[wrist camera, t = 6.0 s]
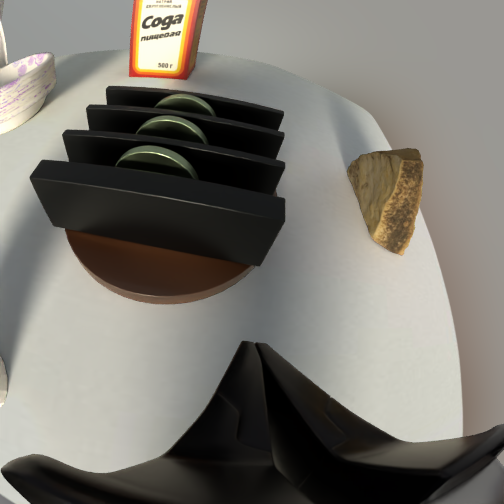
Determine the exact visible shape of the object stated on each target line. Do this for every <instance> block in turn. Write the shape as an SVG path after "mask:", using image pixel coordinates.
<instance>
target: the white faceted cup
mask: <svg viewBox="0 0 504 504" xmlns="http://www.w3.org/2000/svg"><path fill="white" fill-rule="evenodd" d="M6 394H7V374H6V369H5V365H4V362H3V360H2V358H1V356H0V407H1V406H2V405H3V404H4V402H5V398H6Z"/></svg>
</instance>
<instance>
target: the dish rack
mask: <svg viewBox="0 0 504 504" xmlns="http://www.w3.org/2000/svg"><path fill="white" fill-rule="evenodd" d="M106 99H107V105H89V106H88V107H87V108H86V112H87V119H88V125H89V130H65V131H64V133H63V134H62V136H63V140H64V144H65V148H66V152H67V155H68V159H69V162H66V161H54V160H41V162H40V163H39V164H38V166H37V167H36V169H35V170H34V171H33V173H32V174H31V176H30V180H31V183H32V185H33V187H34V189H35V191H36V193H37V195H38V198H39V200H40V202H41V204H42V206H43V208H44V209H45V211H46V213H47V215H48V217H49V219H50V221H51V223H52V224H53V226H55V227H60V228H65V229H70V230H74V231H79V232H84V233H89V234H94V235H98V236H103V237H108V238H113V239H118V240H123V241H128V242H133V243H138V244H143V245H148V246H153V247H158V248H163V249H168V250H173V251H179V252H184V253H189V254H194V255H199V256H205V257H210V258H215V259H221V260H226V261H231V262H237V263H242V264H248V265H253V266H258V267H259V266H260V265H261V264H262V262H263V260H264V258H265V257H266V255H267V253H268V251H269V249H270V248H271V246H272V244H273V242H274V240H275V239H276V237H277V235H278V233H279V231H280V230H281V228H282V226H283V224H284V222H285V199H284V198H281V197H277V196H273V194H274V192H275V190H276V187H277V185H278V183H279V181H280V178H281V176H282V174H283V172H284V169H285V162H283V161H279V160H276V157H277V155H278V152H279V150H280V147H281V145H282V142H283V140H284V137H285V135H284V132H280V131H278V129H279V127H280V124H281V121H282V119H283V116H284V111H281V110H277V109H273V108H269V107H265V106H261V105H257V104H253V103H248V102H244V101H239V100H234V99H229V98H224V97H219V96H213V95H207V94H200V93H194V92H186V91H178V90H169V89H159V88H146V87H128V86H108V87H107V88H106Z"/></svg>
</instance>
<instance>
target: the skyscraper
mask: <svg viewBox="0 0 504 504" xmlns="http://www.w3.org/2000/svg"><path fill="white" fill-rule="evenodd" d="M3 4H4V0H0V69H1V68H3V67H5V66H7V65H8V60H7V51H6V44H5V37H4V33H3V27H2V23H1V18H2V12H3Z"/></svg>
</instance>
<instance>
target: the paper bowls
mask: <svg viewBox="0 0 504 504" xmlns="http://www.w3.org/2000/svg"><path fill="white" fill-rule="evenodd" d="M54 61H55V60H54V55H53V54H52V53H49V52H45V53H39V54H35V55H31V56H27V57H25V58H22V59H20V60H17V61H15V62H13V63H11V64H9V65H7V66H5V67H3V68H1V69H0V134H3V133H6V132H9V131H11V130H13V129H15V128H17V127H18V126H20V125H22V124H23V123H25V122H26V121H27V120H29V119H30V118H31V117H32V116H34V115H35V114H36V113H37V112H38V111H39V109H40V108H41V107H42V105H43V103H44V101H45V97H46V95H47V94H48V93H49V92H50V91H51V90H52V89H53V88H54V86H55V85H56V72H55V63H54Z"/></svg>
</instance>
